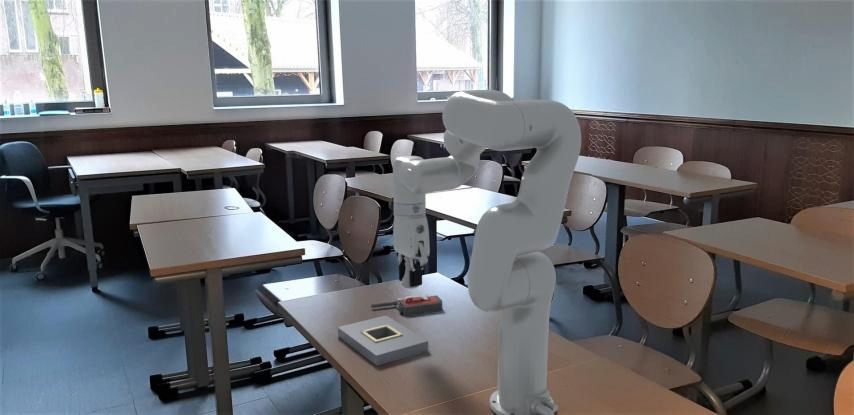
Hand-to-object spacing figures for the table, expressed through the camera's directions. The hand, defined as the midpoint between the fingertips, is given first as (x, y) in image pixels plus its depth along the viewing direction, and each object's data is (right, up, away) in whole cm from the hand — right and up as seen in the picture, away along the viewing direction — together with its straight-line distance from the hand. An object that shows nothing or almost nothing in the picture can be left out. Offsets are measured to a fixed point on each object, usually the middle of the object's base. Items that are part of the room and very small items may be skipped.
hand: (410, 282), depth 154 cm
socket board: (-7, -15, +3) cm, 17 cm away
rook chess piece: (0, -1, 0) cm, 1 cm away
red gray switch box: (-1, -11, +25) cm, 28 cm away
